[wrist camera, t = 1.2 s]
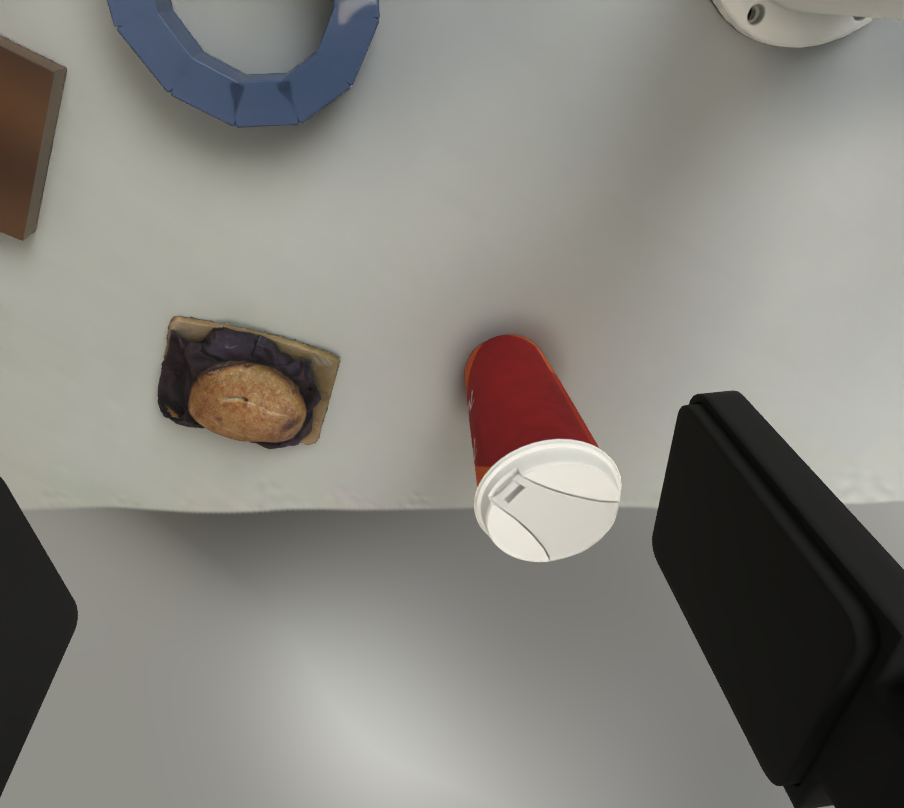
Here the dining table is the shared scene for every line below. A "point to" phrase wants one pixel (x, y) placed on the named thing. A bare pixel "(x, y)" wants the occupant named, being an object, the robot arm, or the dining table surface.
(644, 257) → the dining table surface
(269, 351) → the bun on tray
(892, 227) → the dining table surface
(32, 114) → the stand
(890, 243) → the dining table surface
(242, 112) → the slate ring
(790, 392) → the dining table surface
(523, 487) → the paper cup
